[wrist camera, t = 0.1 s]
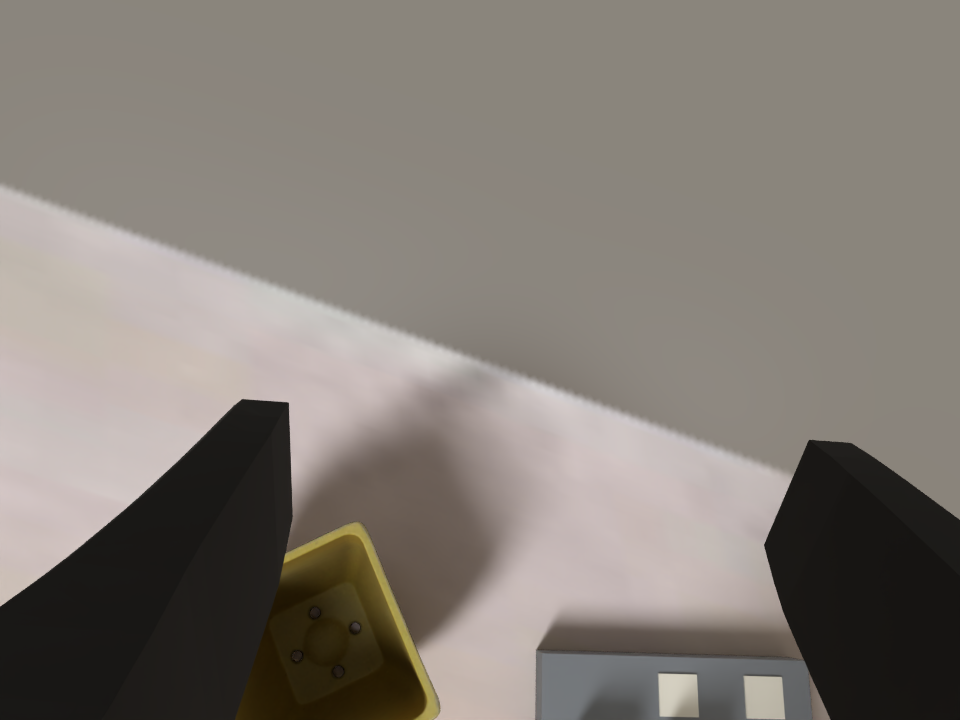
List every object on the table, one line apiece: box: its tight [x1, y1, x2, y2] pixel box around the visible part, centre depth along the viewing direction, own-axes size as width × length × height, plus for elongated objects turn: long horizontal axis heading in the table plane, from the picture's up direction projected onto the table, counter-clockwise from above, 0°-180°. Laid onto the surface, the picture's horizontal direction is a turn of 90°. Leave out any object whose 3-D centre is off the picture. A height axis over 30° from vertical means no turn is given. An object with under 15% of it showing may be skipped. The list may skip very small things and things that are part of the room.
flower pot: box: [235, 522, 440, 720], centre depth 35 cm, size 9×9×9 cm
